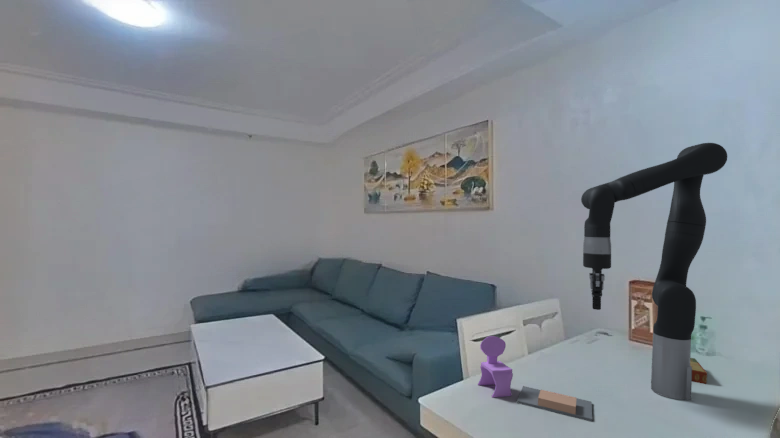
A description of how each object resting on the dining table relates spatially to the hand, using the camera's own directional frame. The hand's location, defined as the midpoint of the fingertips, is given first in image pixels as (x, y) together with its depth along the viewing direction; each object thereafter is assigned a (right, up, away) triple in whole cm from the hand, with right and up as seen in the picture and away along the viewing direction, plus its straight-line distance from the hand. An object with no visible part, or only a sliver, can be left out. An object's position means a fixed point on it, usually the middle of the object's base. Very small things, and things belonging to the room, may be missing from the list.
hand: (596, 309), depth 115 cm
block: (-17, -22, -11) cm, 29 cm away
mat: (-18, -23, -11) cm, 31 cm away
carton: (+40, -27, +16) cm, 50 cm away
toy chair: (-32, -23, -5) cm, 40 cm away
